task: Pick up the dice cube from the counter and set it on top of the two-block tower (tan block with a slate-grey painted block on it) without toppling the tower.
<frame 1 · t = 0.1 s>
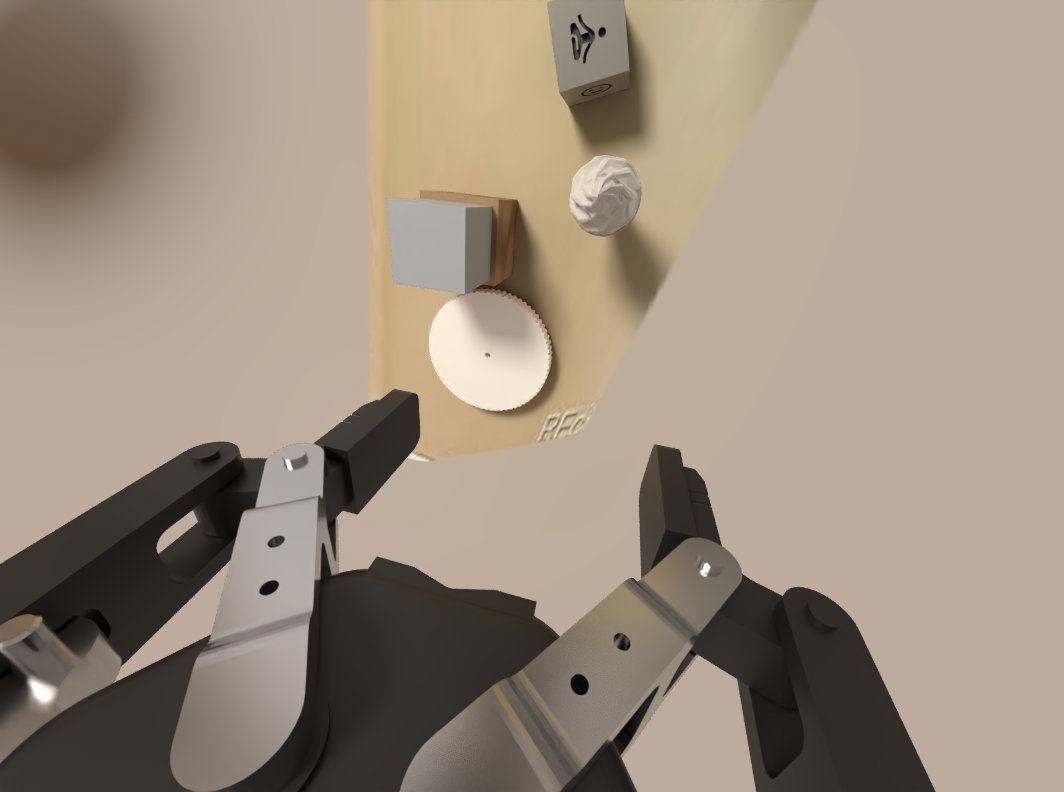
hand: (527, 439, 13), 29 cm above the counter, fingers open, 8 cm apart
plastic lid: (494, 347, 44), on the counter
tower base: (481, 234, 38), on the counter, touching tower top
ice cream cone: (610, 198, 35), on the counter
dice cube: (594, 60, 31), on the counter
tower top: (458, 240, 33), point 6 cm above the counter, touching tower base
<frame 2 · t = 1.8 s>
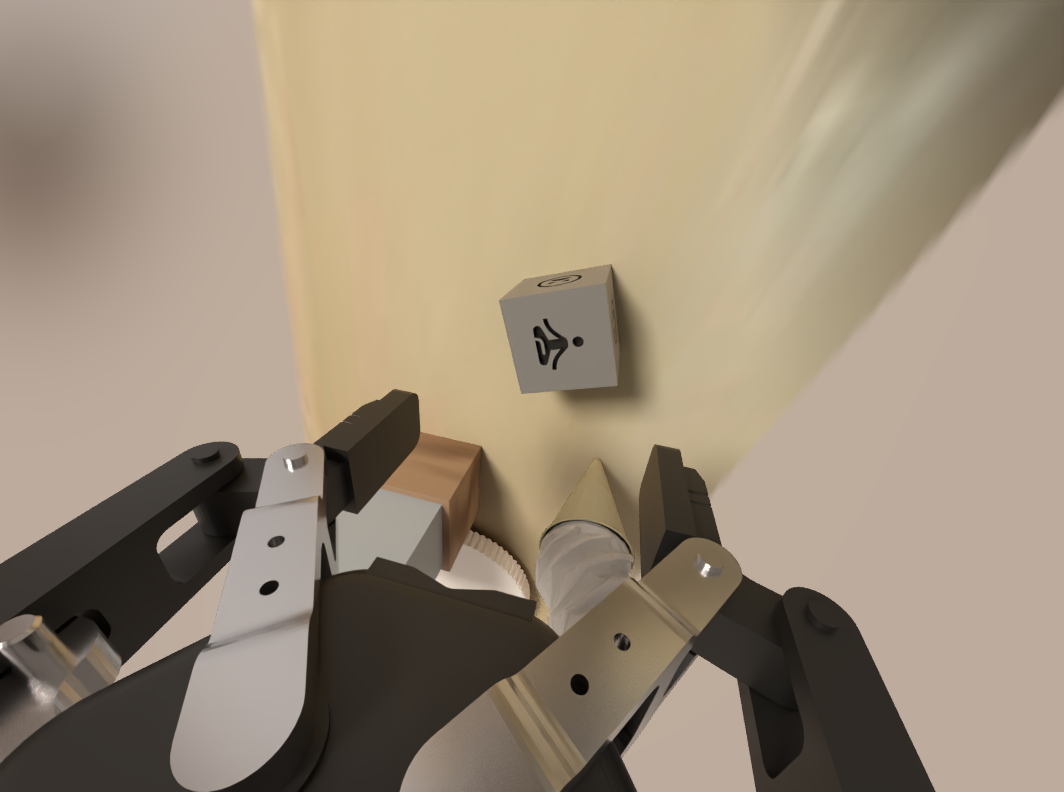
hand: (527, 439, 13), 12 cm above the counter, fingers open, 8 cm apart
plastic lid: (463, 566, 37), on the counter
tower base: (439, 470, 31), on the counter, touching tower top
ice cream cone: (597, 459, 27), on the counter
dice cube: (573, 313, 23), on the counter
tower top: (401, 525, 26), point 6 cm above the counter, touching tower base
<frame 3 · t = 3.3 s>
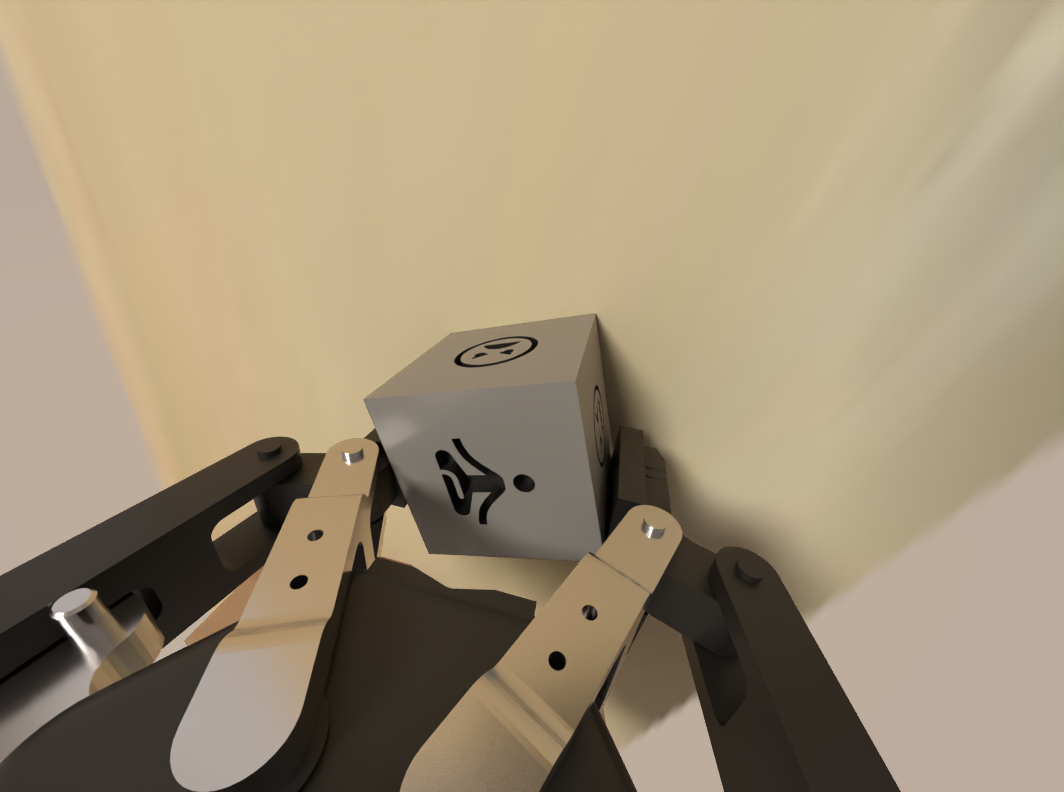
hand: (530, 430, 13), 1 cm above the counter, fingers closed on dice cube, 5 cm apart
tower base: (359, 588, 22), on the counter, touching tower top
dice cube: (534, 389, 14), on the counter, touching gripper
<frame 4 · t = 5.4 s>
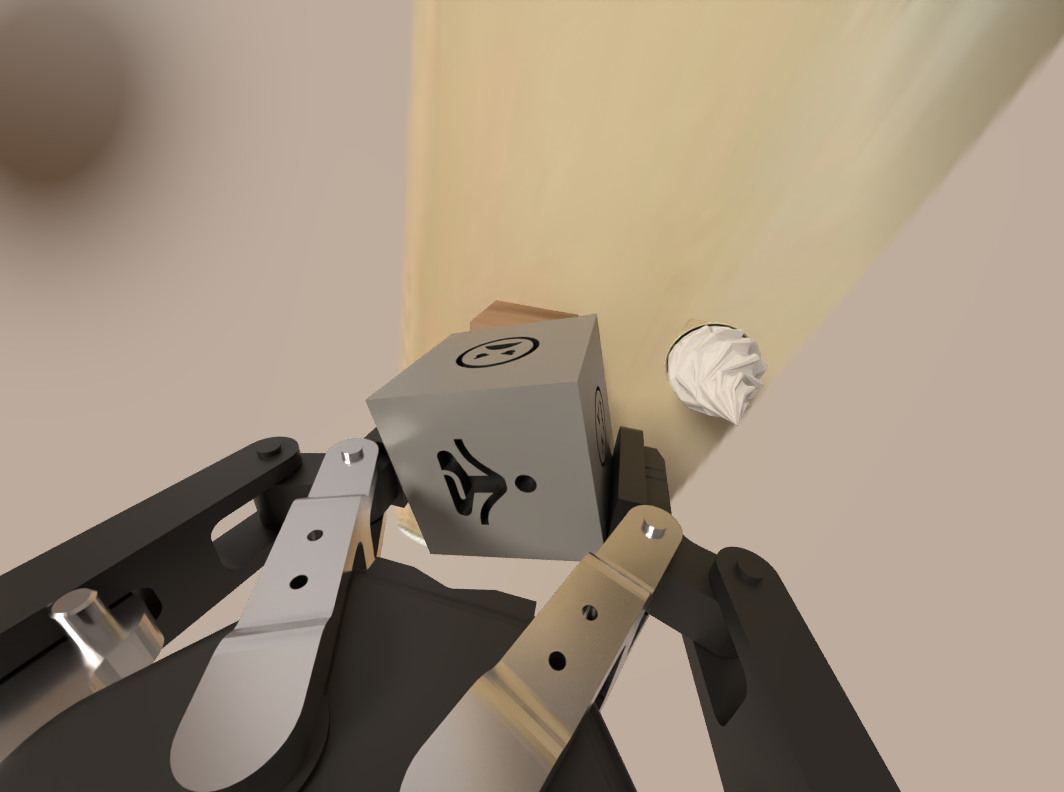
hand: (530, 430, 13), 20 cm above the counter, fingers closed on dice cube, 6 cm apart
tower base: (532, 346, 33), on the counter, touching tower top
ice cream cone: (691, 321, 29), on the counter
dice cube: (536, 390, 14), point 19 cm above the counter, touching gripper
when the fingers open (13 cm above the counter, at t = 7.4 s): dice cube stays where it is, resting on tower top.
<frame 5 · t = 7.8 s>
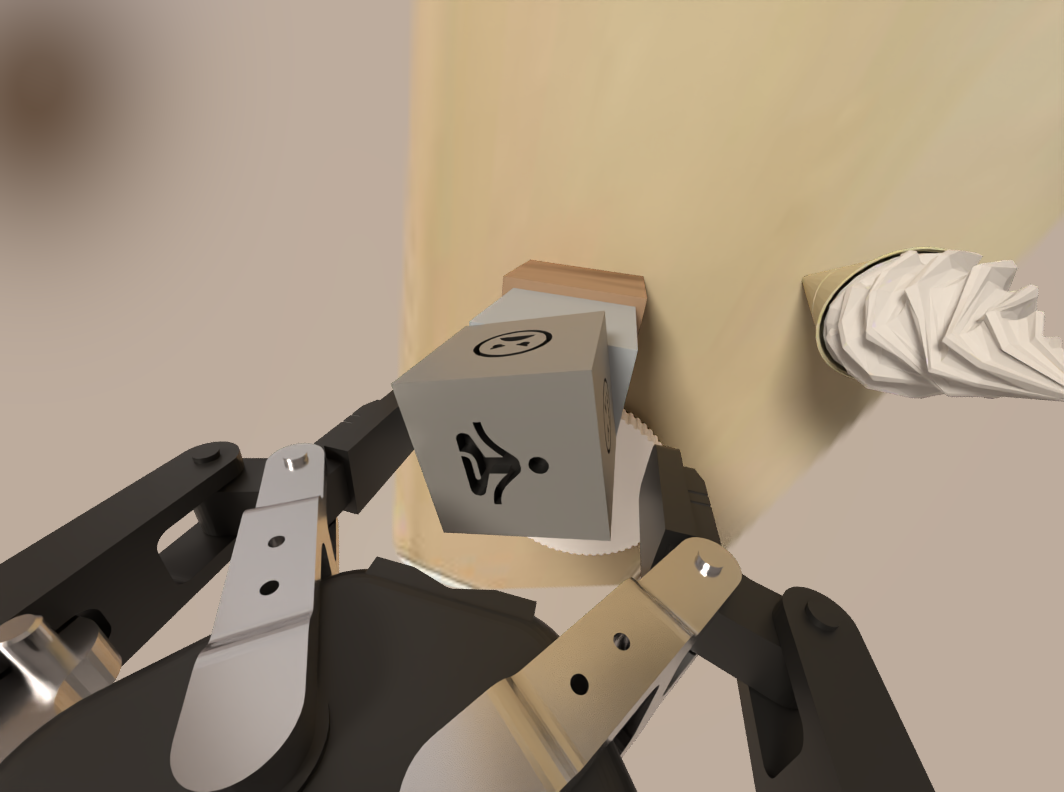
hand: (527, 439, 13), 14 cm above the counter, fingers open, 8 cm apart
plastic lid: (578, 466, 31), on the counter
tower base: (576, 322, 25), on the counter, touching tower top
ice cream cone: (805, 278, 21), on the counter
dice cube: (543, 381, 14), point 12 cm above the counter, touching tower top
tower top: (564, 354, 20), point 6 cm above the counter, touching dice cube, tower base
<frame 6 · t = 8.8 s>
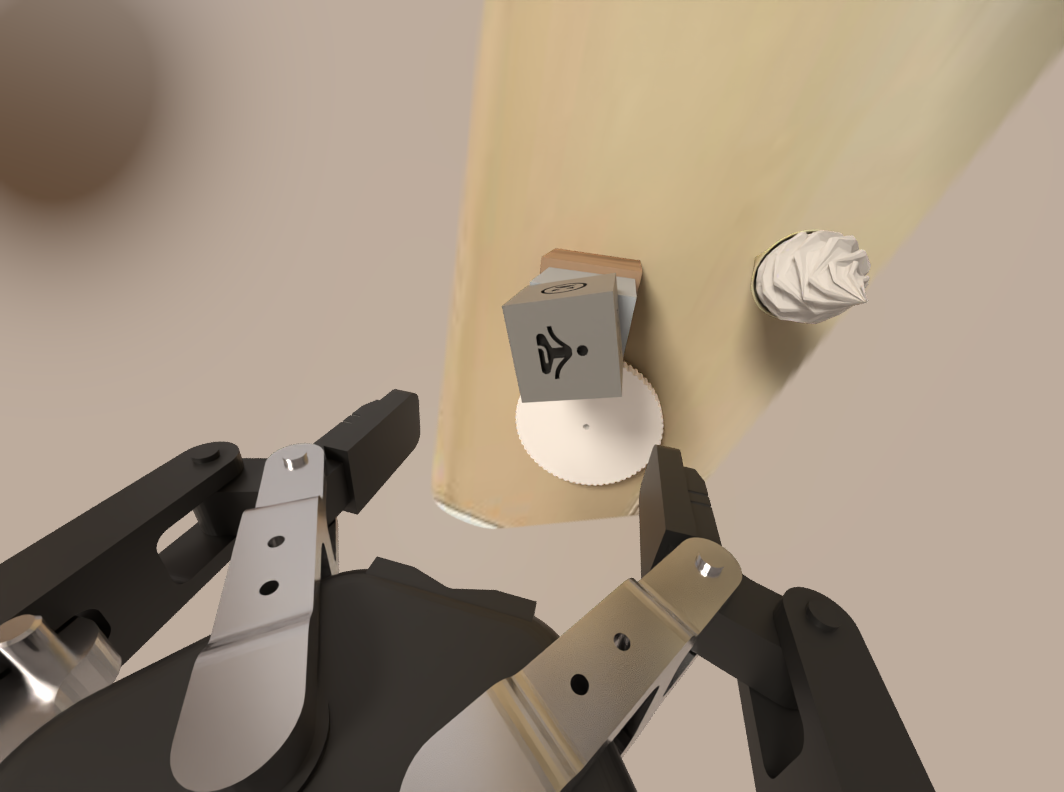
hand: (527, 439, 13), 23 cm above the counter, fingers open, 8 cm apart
plastic lid: (588, 413, 39), on the counter
tower base: (589, 296, 33), on the counter, touching tower top
ice cream cone: (757, 258, 29), on the counter
dice cube: (576, 322, 22), point 12 cm above the counter, touching tower top
tower top: (584, 315, 28), point 6 cm above the counter, touching dice cube, tower base
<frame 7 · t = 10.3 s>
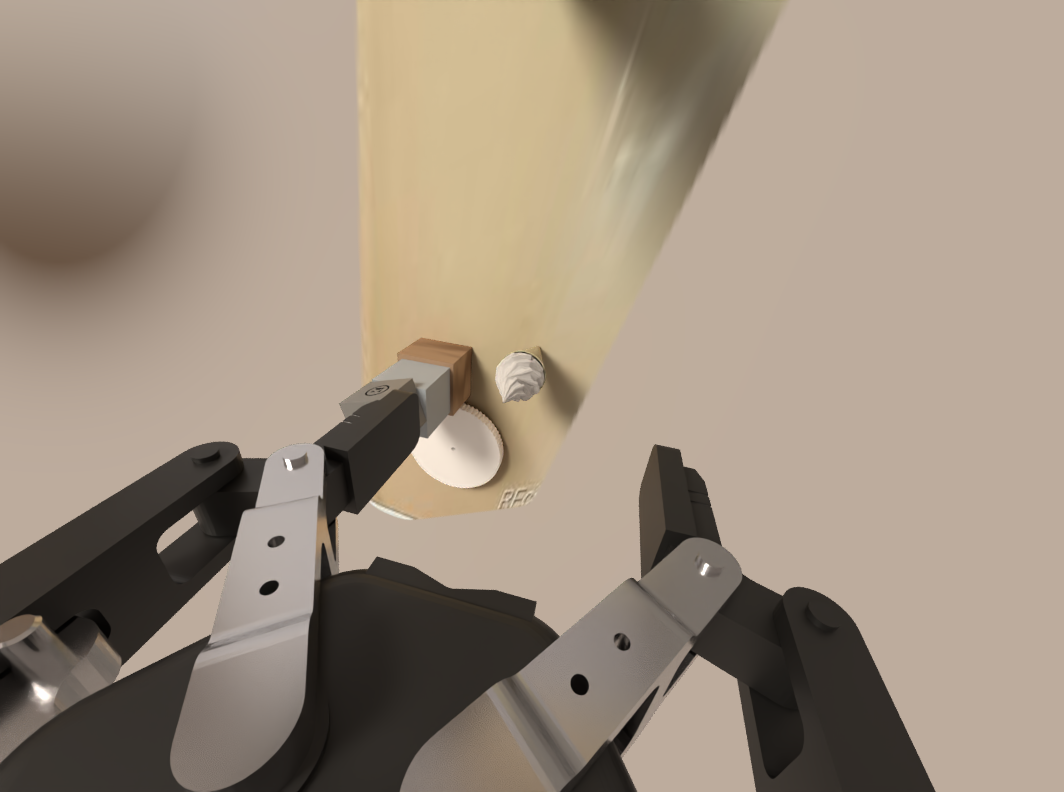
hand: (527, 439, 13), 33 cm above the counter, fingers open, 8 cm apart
plastic lid: (460, 438, 56), on the counter
tower base: (446, 366, 51), on the counter
ice cream cone: (538, 347, 47), on the counter
dice cube: (400, 400, 40), point 12 cm above the counter, touching tower top
tower top: (426, 386, 46), point 6 cm above the counter, touching dice cube
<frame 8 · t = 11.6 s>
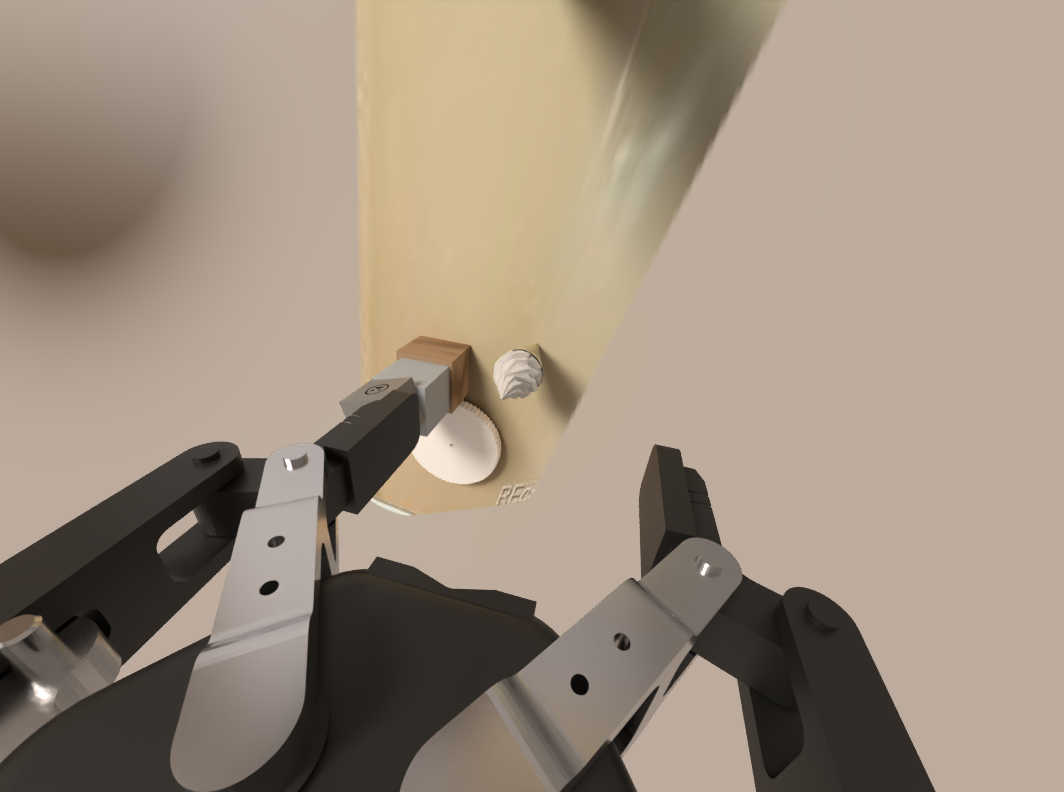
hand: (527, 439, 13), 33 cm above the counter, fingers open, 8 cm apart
plastic lid: (458, 435, 57), on the counter
tower base: (445, 364, 51), on the counter, touching tower top
ice cream cone: (536, 344, 47), on the counter
dice cube: (399, 399, 41), point 12 cm above the counter, touching tower top
tower top: (426, 384, 46), point 6 cm above the counter, touching dice cube, tower base
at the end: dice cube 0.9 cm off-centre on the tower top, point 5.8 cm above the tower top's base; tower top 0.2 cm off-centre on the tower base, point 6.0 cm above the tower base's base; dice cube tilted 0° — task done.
